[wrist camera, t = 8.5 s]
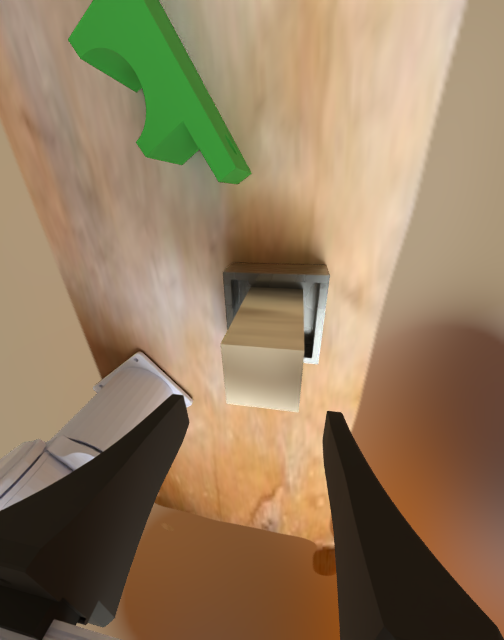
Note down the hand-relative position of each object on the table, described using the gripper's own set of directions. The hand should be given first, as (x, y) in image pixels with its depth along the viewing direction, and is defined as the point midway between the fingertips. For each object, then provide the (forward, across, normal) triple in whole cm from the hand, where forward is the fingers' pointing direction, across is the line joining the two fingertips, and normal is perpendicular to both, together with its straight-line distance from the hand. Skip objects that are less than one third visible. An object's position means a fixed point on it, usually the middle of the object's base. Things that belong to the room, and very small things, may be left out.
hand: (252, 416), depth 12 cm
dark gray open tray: (+10, 0, -2) cm, 10 cm away
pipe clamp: (+10, +6, -15) cm, 19 cm away
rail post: (+9, 0, -2) cm, 9 cm away
